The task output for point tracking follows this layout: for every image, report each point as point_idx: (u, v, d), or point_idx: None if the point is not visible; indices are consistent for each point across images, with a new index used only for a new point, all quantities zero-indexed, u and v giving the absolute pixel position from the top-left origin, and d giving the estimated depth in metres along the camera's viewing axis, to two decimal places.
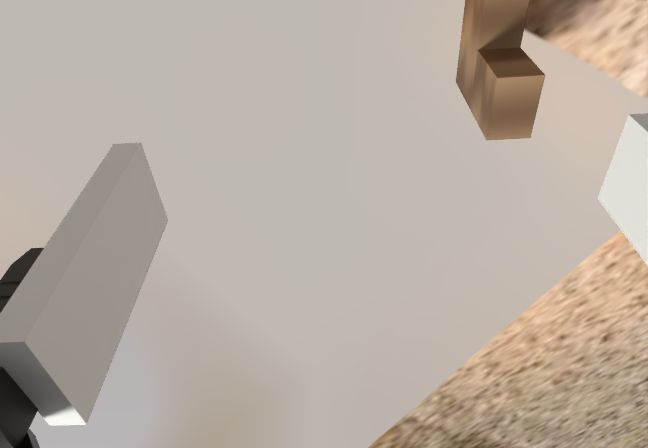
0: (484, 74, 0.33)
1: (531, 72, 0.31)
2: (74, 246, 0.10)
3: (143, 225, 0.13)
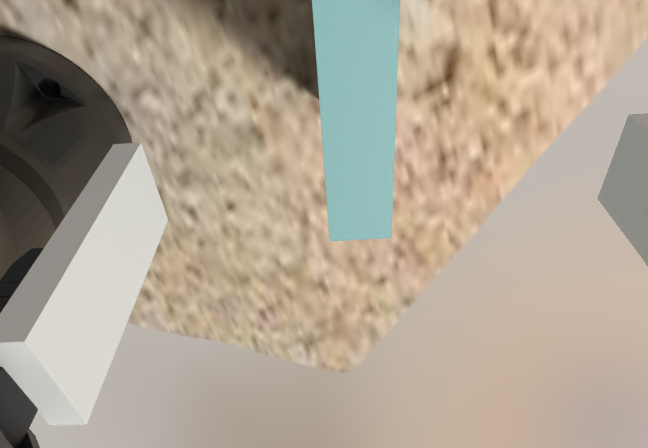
0: None
1: None
2: (74, 246, 0.10)
3: (143, 225, 0.13)
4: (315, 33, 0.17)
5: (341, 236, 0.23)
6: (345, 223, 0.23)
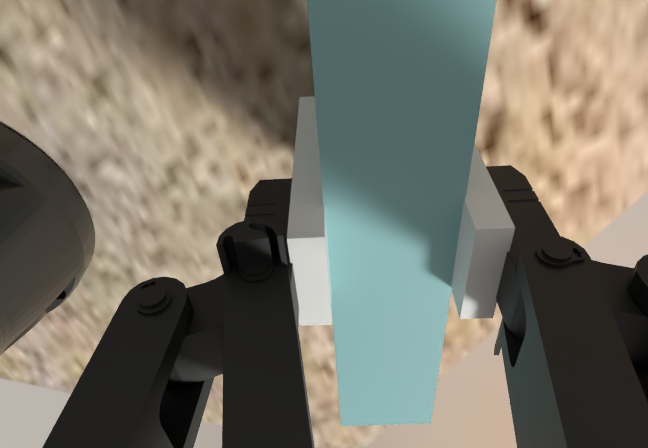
0: None
1: None
2: (319, 171, 0.11)
3: None
4: (323, 184, 0.10)
5: (357, 422, 0.16)
6: (364, 408, 0.15)
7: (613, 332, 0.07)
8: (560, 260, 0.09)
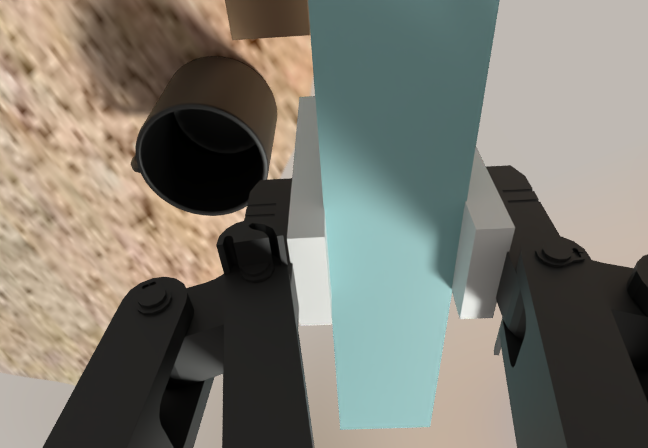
0: None
1: None
2: (319, 171, 0.11)
3: None
4: (324, 189, 0.10)
5: (357, 425, 0.16)
6: (364, 412, 0.15)
7: (613, 332, 0.07)
8: (560, 260, 0.09)
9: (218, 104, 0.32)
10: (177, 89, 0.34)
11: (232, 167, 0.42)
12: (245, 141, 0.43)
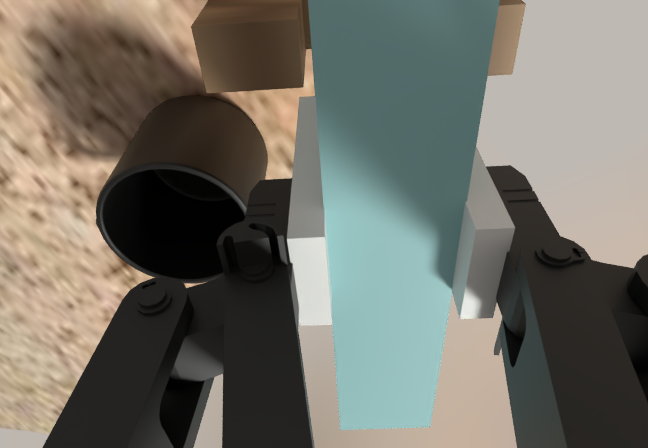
0: None
1: None
2: (319, 171, 0.11)
3: None
4: (324, 189, 0.10)
5: (357, 425, 0.16)
6: (364, 412, 0.15)
7: (613, 332, 0.07)
8: (560, 260, 0.09)
9: (193, 163, 0.26)
10: (146, 141, 0.28)
11: (216, 219, 0.36)
12: None
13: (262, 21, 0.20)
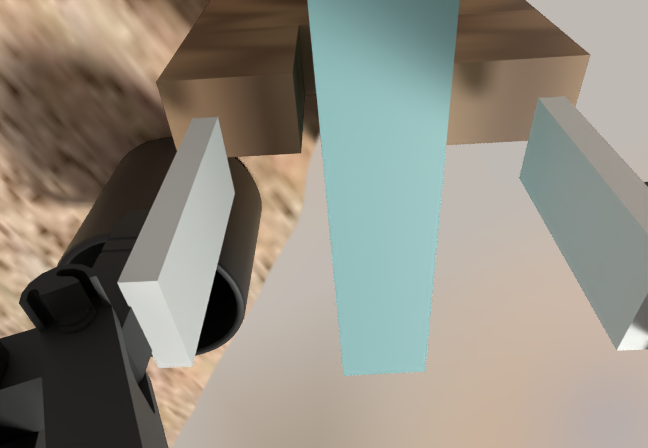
0: None
1: None
2: (180, 204, 0.11)
3: (220, 194, 0.14)
4: (322, 139, 0.11)
5: (358, 371, 0.18)
6: (364, 357, 0.17)
7: None
8: None
9: None
10: (115, 199, 0.24)
11: None
12: None
13: (248, 75, 0.16)
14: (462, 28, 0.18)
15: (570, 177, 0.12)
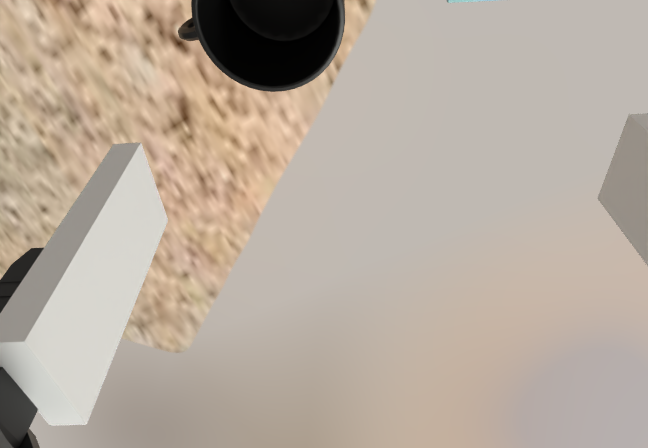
0: None
1: None
2: (74, 246, 0.10)
3: (143, 225, 0.13)
4: None
5: None
6: None
7: None
8: None
9: None
10: None
11: (288, 52, 0.37)
12: (302, 27, 0.38)
13: None
14: None
15: None
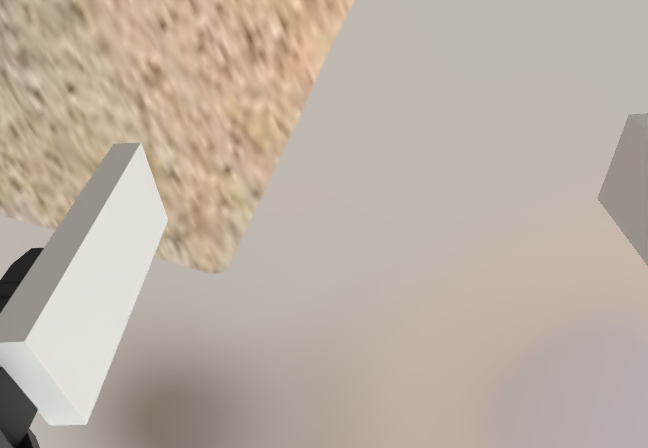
0: None
1: None
2: (74, 246, 0.10)
3: (143, 225, 0.13)
4: None
5: None
6: None
7: None
8: None
9: None
10: None
11: None
12: None
13: None
14: None
15: None
